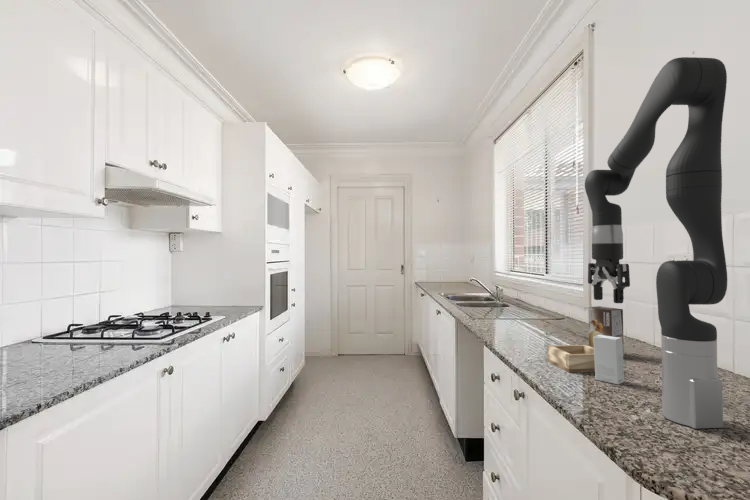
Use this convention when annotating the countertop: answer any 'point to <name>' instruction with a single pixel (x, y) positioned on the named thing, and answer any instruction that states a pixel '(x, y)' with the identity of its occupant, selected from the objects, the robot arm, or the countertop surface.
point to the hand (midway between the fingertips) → (607, 301)
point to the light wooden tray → (572, 357)
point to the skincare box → (608, 359)
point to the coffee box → (605, 323)
